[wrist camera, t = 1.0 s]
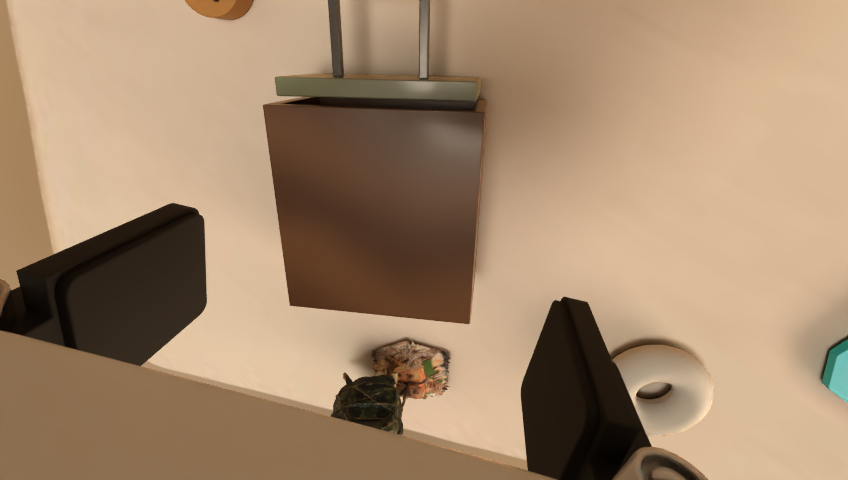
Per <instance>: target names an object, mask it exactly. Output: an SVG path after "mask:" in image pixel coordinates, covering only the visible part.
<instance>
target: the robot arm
mask: <svg viewBox="0 0 848 480" xmlns="http://www.w3.org/2000/svg"><path fill="white" fill-rule="evenodd" d="M17 275H18V279H19V283H20V287H18V288H16V289H14V290H12V291H11V290H10V286H9V284H8V283H7V282H5V281H4V280H1V279H0V480H708V479H707V478H706V477H705V476H704V475H703V474H702V473H701V472H700V471H699V470H698V469H696V468H695V467H694V466H693V465H692V464H690V463H689V462H688V461H686V460H684V459H683V458H681V457H679V456H678V455H676V454H674V453H672V452H669V451H667V450H664V449H661V448H656V447H652V446H651V444H650V442H649V439H648V437H647V435H646V432H645V430H644V428H643V425H642V423H641V420H640V418H639V416H638V413H637V411H636V409H635V406H634V404H633V402H632V399H631V397H630V395H629V392H628V390H627V387H626V385H625V383H624V380H623V378H622V376H621V373H620V371H619V369H618V367H617V365H616V363H615V362H613V361H612V360H611V357H610V355H609V353H608V350H607V348H606V345H605V343H604V341H603V338H602V336H601V333H600V331H599V328H598V326H597V324H596V321H595V319H594V316H593V314H592V311H591V309H590V307H589V304H588V303H587V302H584V301H580V300H576V299H572V298H568V297H563V298H562V299H561V301H556V300H555V301H553V303H552V305H551V308H550V310H549V313H548V316H547V318H546V321H545V323H544V326H543V329H542V331H541V334H540V337H539V339H538V342H537V345H536V347H535V350H534V353H533V355H532V358H531V361H530V363H529V366H528V369H527V371H526V374H525V376H524V379H523V382H522V387H521V402H522V413H523V423H524V434H525V445H526V455H527V466H528V471H527V470H524V469H520V468H517V467H513V466H511V465H507V464H504V463H501V462H497V461H494V460H490V459H487V458H483V457H479V456H476V455H472V454H468V453H465V452H461V451H457V450H454V449H450V448H446V447H442V446H439V445H435V444H431V443H428V442H424V441H420V440H416V439H413V438H409V437H405V436H402V435H398V434H394V433H391V432H387V431H383V430H379V429H376V428H372V427H368V426H365V425H361V424H357V423H353V422H349V421H346V420H342V419H338V418H334V417H331V416H327V415H323V414H319V413H315V412H312V411H308V410H304V409H300V408H296V407H293V406H289V405H285V404H281V403H277V402H274V401H269V400H266V399H262V398H258V397H255V396H251V395H247V394H243V393H239V392H236V391H232V390H228V389H224V388H221V387H217V386H213V385H209V384H206V383H202V382H198V381H194V380H190V379H186V378H183V377H179V376H175V375H172V374H168V373H164V372H160V371H156V370H152V369H149V368H145V367H141V365H142V364H143V363H145V362H146V361H147V360H148V359H149V358H151V357H152V356H153V355H154V354H155V353H156V352H157V351H159V350H160V349H161V348H162V347H163V346H164V345H166V344H167V343H168V342H169V341H170V340H171V339H172V338H174V337H175V336H176V335H177V334H178V333H179V332H181V331H182V330H183V329H184V328H185V327H186V326H188V325H189V324H190V323H191V322H192V321H193V320H194V319H196V318H197V317H198V316H199V315H200V314H201V313H202V312H203V310H204V309H205V306H206V302H207V294H206V263H205V231H204V219H203V217H202V216H201V215H199V212H198V210H197V209H195V208H192V207H187V206H183V205H179V204H175V203H171V204H168V205H166V206H164V207H161V208H159V209H157V210H155V211H152V212H150V213H148V214H145V215H143V216H141V217H139V218H136V219H134V220H132V221H129V222H127V223H125V224H122V225H120V226H118V227H116V228H113V229H111V230H109V231H106V232H104V233H102V234H100V235H97V236H95V237H93V238H90V239H88V240H86V241H84V242H81V243H79V244H77V245H74V246H72V247H70V248H68V249H65V250H63V251H61V252H58V253H56V254H54V255H51V256H49V257H47V258H45V259H42V260H40V261H38V262H36V263H33V264H31V265H29V266H26V267H24V268H22V269H19V270H17Z"/></svg>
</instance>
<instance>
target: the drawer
mask: <svg viewBox="0 0 848 480" xmlns="http://www.w3.org/2000/svg"><path fill="white" fill-rule="evenodd" d="M328 7H329V21H330V36H331V51H332V65H333V74H305V75H292V76H279V77H275V83H276V92H277V95H278V96H302V97H335V98H369V99H403V100H436V101H470V102H475V101H476V100H477V98H478V96H479V94H480V87H481V78H480V77H446V76H429V36H430V0H420V11H419V76H400V75H354V74H344V68H343V51H342V34H341V17H340V0H328Z"/></svg>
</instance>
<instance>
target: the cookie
mask: <svg viewBox="0 0 848 480" xmlns="http://www.w3.org/2000/svg"><path fill="white" fill-rule="evenodd" d="M185 1H186V3H187V4H188V5H189V6H190V7H191V8H192V9H193V10H195V11H196V12H197V13H199V14H201V15H203V16H206V17H211V18H218V19H224V20H234V19H237V18H240V17H241V16H243V15H244V14H245V13H246V12H247V11H248V10H249V8H250V6H251V4H252V2H253V0H185Z"/></svg>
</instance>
